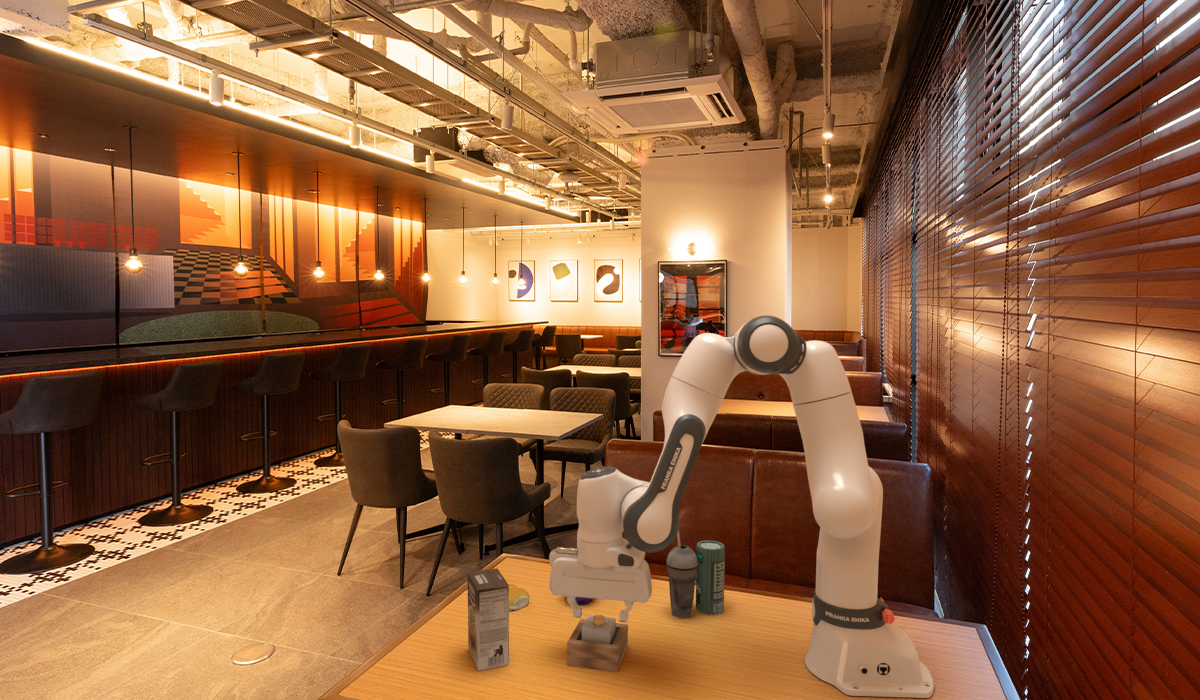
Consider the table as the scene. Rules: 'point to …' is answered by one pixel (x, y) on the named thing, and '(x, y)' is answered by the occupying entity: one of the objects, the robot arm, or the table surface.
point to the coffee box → (488, 618)
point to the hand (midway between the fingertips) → (600, 618)
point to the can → (710, 577)
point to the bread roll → (517, 597)
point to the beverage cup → (682, 579)
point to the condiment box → (597, 650)
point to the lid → (599, 629)
